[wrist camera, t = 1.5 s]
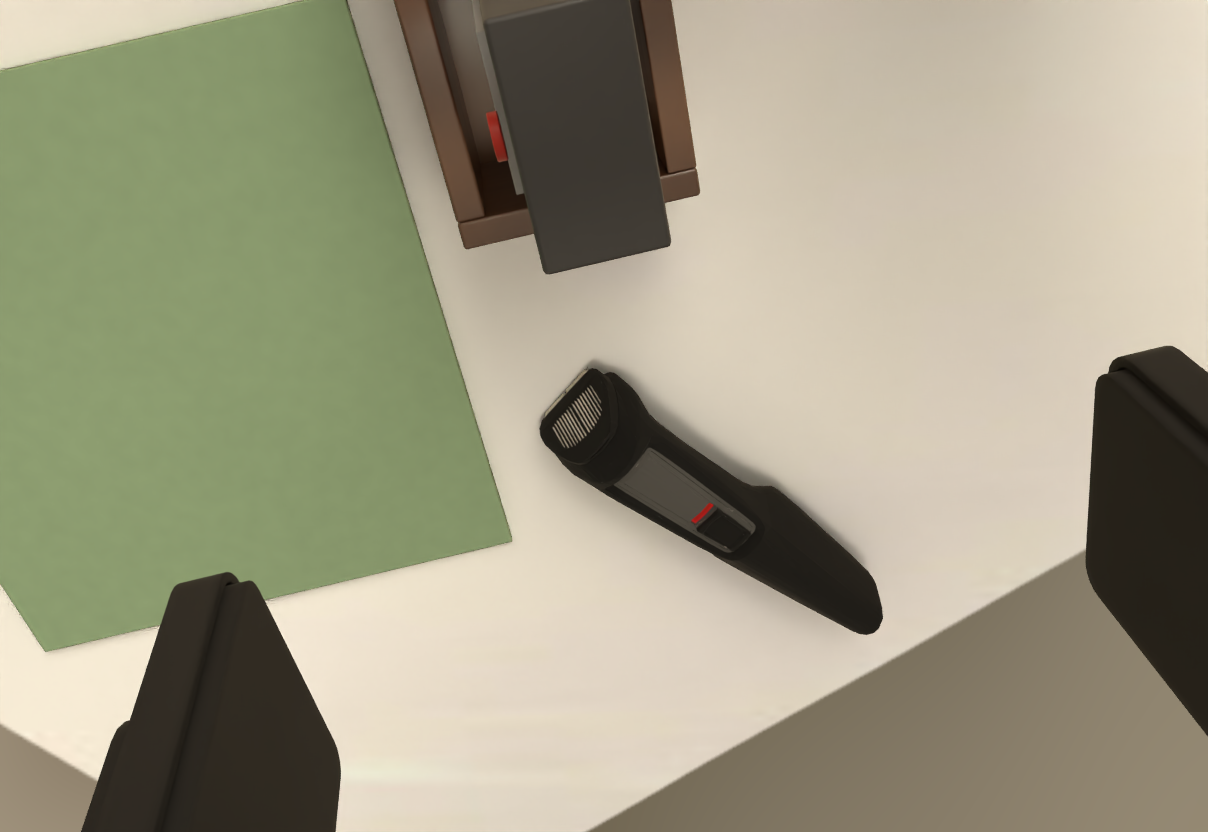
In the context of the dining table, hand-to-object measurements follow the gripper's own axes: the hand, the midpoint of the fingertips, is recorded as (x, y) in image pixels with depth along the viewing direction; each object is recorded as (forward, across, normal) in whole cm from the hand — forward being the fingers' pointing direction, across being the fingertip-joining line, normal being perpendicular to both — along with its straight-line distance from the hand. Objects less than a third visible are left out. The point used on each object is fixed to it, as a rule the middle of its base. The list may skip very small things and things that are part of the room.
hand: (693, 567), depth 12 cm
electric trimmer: (+24, -3, +17) cm, 29 cm away
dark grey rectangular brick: (+16, 0, -2) cm, 16 cm away
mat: (+24, +14, +7) cm, 28 cm away
